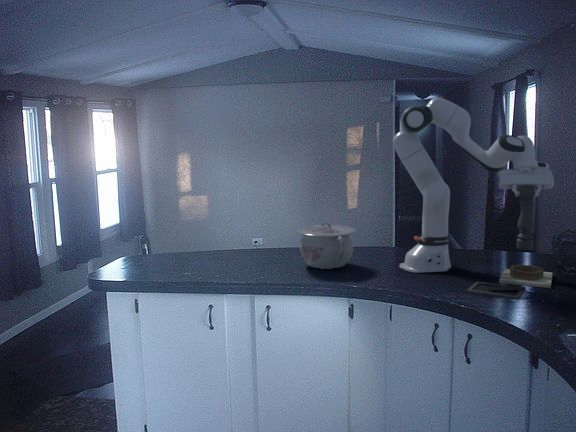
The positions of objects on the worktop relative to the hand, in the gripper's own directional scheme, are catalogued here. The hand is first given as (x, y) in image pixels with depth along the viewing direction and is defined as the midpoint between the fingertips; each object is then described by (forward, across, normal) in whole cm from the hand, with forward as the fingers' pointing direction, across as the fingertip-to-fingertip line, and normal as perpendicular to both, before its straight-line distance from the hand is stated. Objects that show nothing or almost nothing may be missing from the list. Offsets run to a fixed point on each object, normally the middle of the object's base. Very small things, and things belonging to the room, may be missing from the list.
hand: (527, 195), depth 212 cm
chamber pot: (+22, -83, +26) cm, 89 cm away
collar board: (+27, 0, +20) cm, 34 cm away
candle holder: (+15, 0, +16) cm, 22 cm away
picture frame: (+41, -12, +7) cm, 43 cm away
